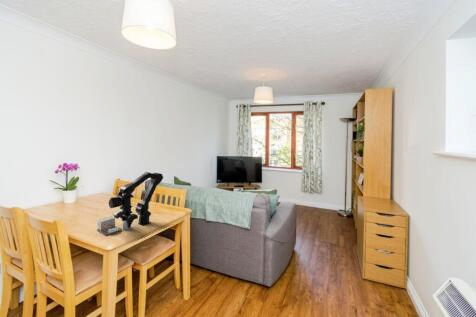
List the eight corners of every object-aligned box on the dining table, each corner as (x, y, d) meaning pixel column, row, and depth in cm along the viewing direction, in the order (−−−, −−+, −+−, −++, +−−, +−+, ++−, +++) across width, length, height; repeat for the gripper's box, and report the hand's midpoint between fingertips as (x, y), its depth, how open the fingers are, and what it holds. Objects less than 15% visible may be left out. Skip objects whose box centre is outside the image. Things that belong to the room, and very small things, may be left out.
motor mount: (112, 226, 163) (112, 216, 162) (121, 230, 155) (121, 220, 154) (97, 230, 155) (96, 220, 154) (105, 236, 147) (105, 225, 146)
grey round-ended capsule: (128, 226, 162) (128, 218, 161) (132, 228, 159) (132, 220, 158) (121, 229, 158) (121, 220, 157) (125, 231, 155) (125, 222, 154)
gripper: (107, 204, 156) (108, 226, 157) (121, 210, 145) (122, 234, 146) (123, 201, 165) (124, 222, 166) (138, 206, 154) (138, 228, 155)
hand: (127, 226), depth 158 cm, fingers closed on grey round-ended capsule, 5 cm apart
